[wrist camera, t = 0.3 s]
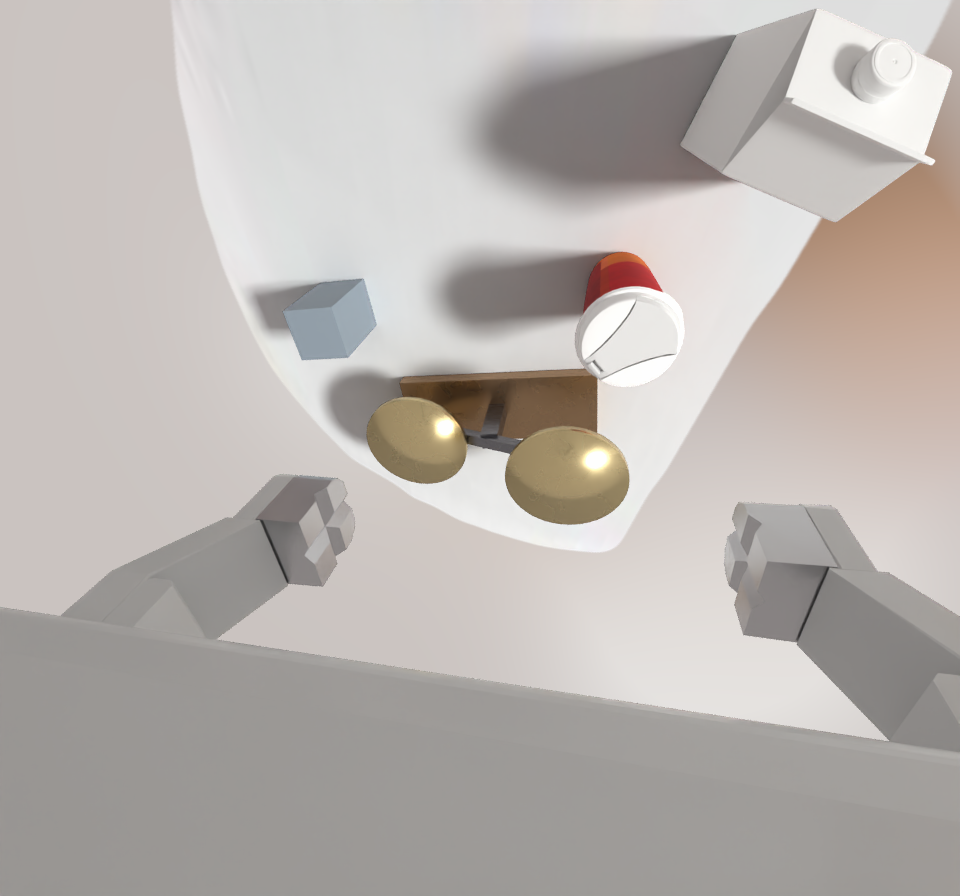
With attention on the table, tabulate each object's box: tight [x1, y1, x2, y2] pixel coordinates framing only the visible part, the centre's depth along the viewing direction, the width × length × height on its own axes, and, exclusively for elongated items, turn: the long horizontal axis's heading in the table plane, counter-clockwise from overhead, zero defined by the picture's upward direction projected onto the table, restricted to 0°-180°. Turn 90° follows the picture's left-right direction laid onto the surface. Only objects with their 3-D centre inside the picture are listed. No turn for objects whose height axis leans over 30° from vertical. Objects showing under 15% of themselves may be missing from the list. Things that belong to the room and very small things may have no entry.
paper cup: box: [575, 252, 684, 387], centre depth 39 cm, size 8×8×14 cm
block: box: [283, 279, 377, 360], centre depth 48 cm, size 5×5×8 cm
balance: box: [367, 369, 629, 525], centre depth 50 cm, size 11×27×14 cm, turn 98°
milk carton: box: [680, 9, 952, 222], centre depth 28 cm, size 7×7×19 cm
